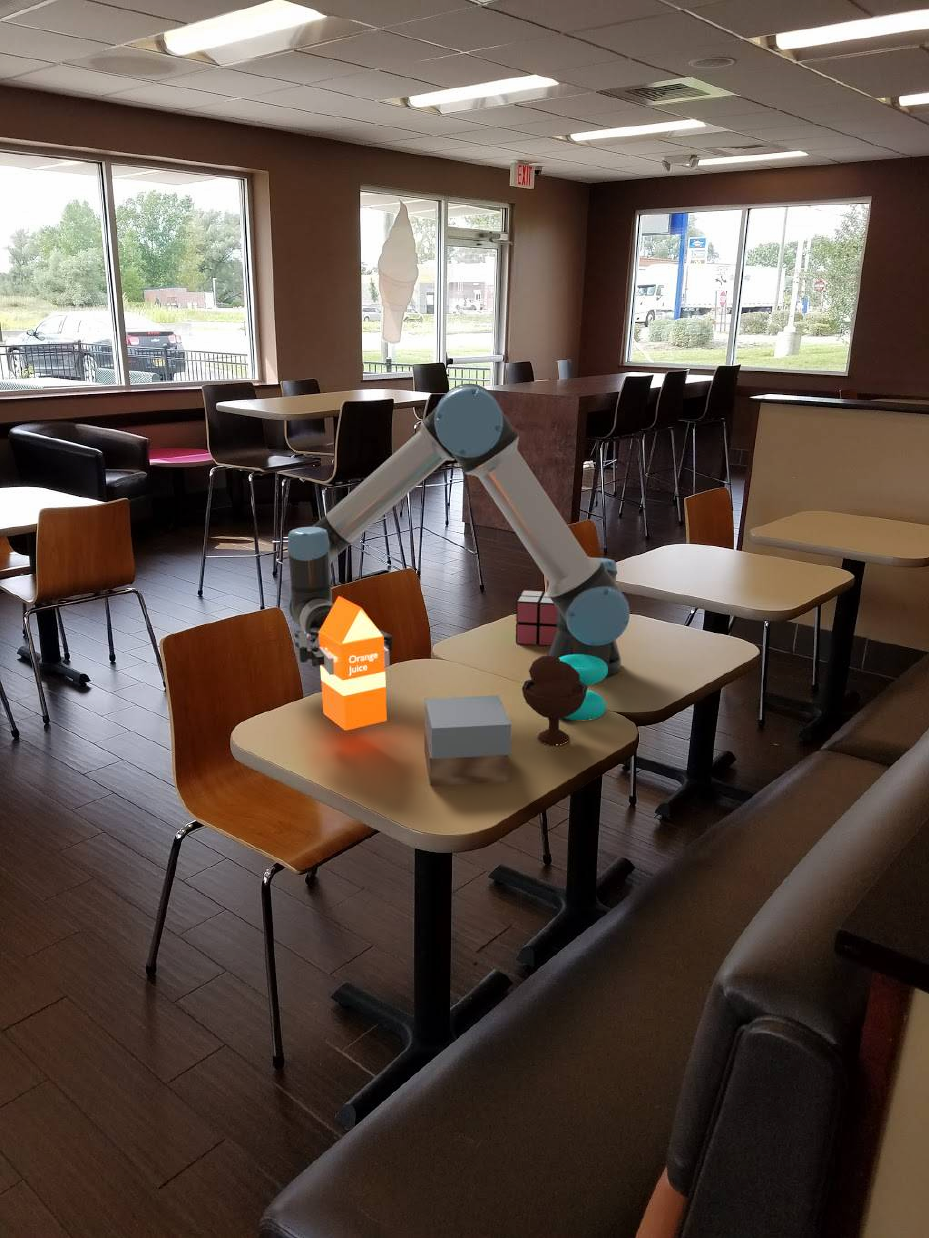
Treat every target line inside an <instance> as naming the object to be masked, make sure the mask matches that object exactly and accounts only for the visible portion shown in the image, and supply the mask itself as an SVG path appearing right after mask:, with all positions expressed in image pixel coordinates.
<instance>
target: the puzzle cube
mask: <svg viewBox="0 0 929 1238" xmlns="http://www.w3.org/2000/svg"><path fill="white" fill-rule="evenodd" d="M515 608H516V609H515V611H516V613H515V614H516V615H515V617H516V618H515V622H516V623H515V643H516V645H525V646H527V645H528V646H529V645H530V646H542V647H544V646H545V647H551V644H552V641H553V639H554V636H555V633H556V630H557V607H556V606H555V604H554V603H553V602H552V600H551V599H550V597H549V596H548V594H547V591H539V590H538V591H537V590H523V591H522V592H521V594H520V595H519V598H518V599H517V601H516V606H515Z"/></svg>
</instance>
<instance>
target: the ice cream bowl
mask: <svg viewBox="0 0 929 1238" xmlns="http://www.w3.org/2000/svg"><path fill="white" fill-rule="evenodd" d="M529 667H530V668H529V669H528V672H529V678H530V679H528V680H525V682H524V684H523V685H522V687H521V690H522V695H523V698H524V701H525V702H526V704H527V705H528V706H529V707H530V708H531V709H532V710H534V712H536V713H537V714H538V715H539V716H542V717H543V718H547V719H548V729H545V730H543V731H541V732H539V734H538V737H537V739H538V740H539V741H538V740H537V741H538V742H540V741H541V742H542V743H545V744H544V745H546V744H549V745H548V746H550V745H556V744H558V745H559V746H561V745H560V744H563V743H565V742H567V741H569V742H570V739H569V738H570V735H569V734H568V733H566V731H563V730H561V729H560V720H561V719H564V717H567V716H569V715H571V714H573V713H575V712H576V711H577V710H578V709H579V708H580V707H581V705H582V704H583V702H584V699H585V696H586V692H587V690H588V687H589V685H585V684H584V683H582V682H581V681H580V676H579V673H578V672H577V671H576V670H575V669H574V668H573V667H572V666H571V665H569V664H568V663H566V662H563V661H560V659H559V658H557V657H555V656H549V655H548V654H547V655H542V656H539V657H538V658H537V659H535V660H533V661H532V664H531V666H529ZM541 742H540V743H541ZM542 743H541V744H542Z"/></svg>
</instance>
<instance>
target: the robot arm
mask: <svg viewBox="0 0 929 1238" xmlns="http://www.w3.org/2000/svg"><path fill="white" fill-rule="evenodd" d="M519 441H520V436H519V434H518V433H517V431H516V430H515V428H514V427H513V425H512V424H511V423H510V421H509V419H508V418H507V416H506V415H505V413H504V412H503V409H502V408H501V406H500V404H499V403H498V401H497V400H496V397H495V396H494V395H493V394H492V392H490V391H489V390H488V389H487V388H485V387H483V386H481V385H480V384H479V385H478V384H476V383H462V384H459V385H456V386H454V387H452V388H450V390H448V391H447V392H445V394H444V395H443V396H442V397H441V399H440V400H439V401H438V404H437V406H436V407H435V408H434V409H433V410H432V412H430V413H429V414H428V416H426V417H425V418H424V419H423V420H422V421H421V422H420V428H419V430H418V432H416V433H415V435H413V436H412V437H410V439H408V440H407V442H406V443H404V444H403V445H402V446H401V447H400V448H399V449H397V450H396V451H395V452H394V453H393V454H392V455H390V457H389V458H387V459H386V460H385V461H384V462H383V463H382V464H380V466H379V467H377V468H376V469H375V470H374V471H373V472H372V473H370V475H368V476H367V477H366V478H365V479H364V480H363V481H362V482H361V483H359V484H358V485H357V486H356V487H355V488H354V489H353V490H352V491H351V492H350V493H348V494H347V496H345V497H344V498H342V499H341V500H340V501H339V502H338V503H337V504H336V505H335V506H334V507H333V508H331V510H329V511H328V512H327V513H326V515H324V516H323V517H322V518H321V519H319V520H318V521H317V522H316V523H315V524H313V525H311V526H302V527H296V528H295V529H292V530H290V531H289V532H288V535H287V536H288V537H287V545H288V546H287V553H288V561H289V575H290V577H289V578H290V592H291V593H290V594H291V595H290V597H289V599H288V606H287V607H288V612H289V615H290V617H291V618H292V620H293V622H294V623H295V624H296V625H297V626H298V627H299V628H300V629H301V630H302V631H301V630H296V631H294V642H295V647H297V648H298V650H299V661H300V663H307V662H308V660H311V665H312V667H320V665H322V666H323V667H324V668H325V670H326V671H327V672H328V673H329V675H334V658H333V657H332V656H331V655H330V653H329V652H328V651H327V650H326V649H325V647H324V646H322V647H320V644H319V631H320V629H321V627H322V625H323V624H324V622H325V620H326V618H327V616H328V614H329V613H330V611H331V609H332V607H333V605H334V602H333V594H332V593H333V592H332V582H331V581H332V580H331V579H332V577H331V575H332V574H331V564H332V563H333V562H334V560H335V559H336V558H337V556H338V555H340V554H341V553H342V552H343V551H344V550H346V549H347V548H348V547H349V546H350V545H351V544H352V543H353V542H354V541H356V539H357V538H359V537H360V536H361V535H362V534H363V533H365V532H366V530H368V529H369V528H370V527H371V526H373V525H374V524H375V523H376V522H377V521H378V520H379V519H380V518H382V517H383V516H384V515H386V513H388V511H389V510H391V509H392V508H394V507H395V505H397V504H398V503H399V502H400V501H401V500H402V499H404V497H406V496H407V495H408V494H410V492H412V490H413V489H415V488H416V487H417V486H418V485H420V484H421V483H422V482H423V481H424V480H425V479H426V478H427V477H428V476H430V475H431V474H432V473H433V472H434V471H435V470H436V469H438V468H439V467H440V466H441V465H443V463H446V461H455V460H456V461H457V464H458V465H459V466H460V468H461V469H462V471H463V472H464V473H465V474H466V475H470V476H475V477H477V478H478V479H479V481H480V482H481V484H482V485H483V486H484V488H485V490H486V491H487V492H488V494H489V496H490V497H491V498H492V500H493V501H494V503H495V504H496V506H497V507H498V509H499V510H500V511H501V513H502V514H503V516H504V517H505V519H506V520H507V522H508V523H509V525H510V526H511V528H512V530H513V531H514V532H515V534H516V536H517V537H518V538H519V540H520V541H521V543H522V544H523V546H524V547H525V549H526V550H527V552H528V554H530V556H531V557H532V559H533V560H534V562H535V564H536V565H537V566H538V568H539V569H540V570H541V572H542V574H543V575H544V577H545V578H546V580H547V582H548V588H547V591H546V592H547V594H548V596H549V597H550V599H551V600H552V602H553V603H554V604H555V606H556V607H557V630H556V633H555V636H554V639H553V641H552V644H551V646H549V647H550V648H549V650H548V653H547V655H549V656H555V657H557V658H560V657H562V656H566V655H572V654H583V655H590V656H594V657H597V658H600V659H601V660H603V661H604V662H605V663H606V665H607V667H608V673H607V675H606V677H605V678H607V677H611V676H614V675H616V674H618V673H619V672H620V671H621V664H622V661H621V660H622V658H621V654H620V652H619V651H620V650H619V647H618V645H617V641H616V640H617V639H618V638H620V637H621V636H622V635H623V633H624V632H625V630H626V629H627V627H628V625H629V622H630V621H629V620H630V604H629V601H628V599H627V597H626V596H625V595H624V593H622V591H621V589H620V588H619V586H618V584H617V574H618V569H617V563H616V561H615V560H613V559H611V558H610V559H609V558H606V557H590V556H588V554H587V553H586V551H585V550H584V548H583V547H582V546H581V544H580V543H579V541H578V539H577V538H576V537H575V535H574V534H573V532H572V530H571V529H570V528H569V526H568V524H567V522H565V520H564V518H563V517H562V516H561V513H560V512H559V510H558V509H557V508H556V506H555V505H554V503H553V502H552V500H551V499H550V496H548V493H547V492H546V491H545V490H544V488H543V486H542V485H541V483H540V482H539V481H538V479H537V478H536V476H535V474H534V473H533V471H532V469H530V467H529V465H528V464H527V462H526V461H525V459H524V458H523V456H522V455H521V453H520V452H519V450H518V446H519ZM377 629H378V630H379V631H380V632H381V634H382V635H383V636H384V649H383V665H384V666H385V668H388V667H390V664H391V663H390V662H391V661H390V651H393V636H392V634H390V633H387V632H386V631H384V630H381V629H380V628H378V627H377ZM309 642H311V643H312V645H311V646H310V648H307V647H308V643H309Z"/></svg>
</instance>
